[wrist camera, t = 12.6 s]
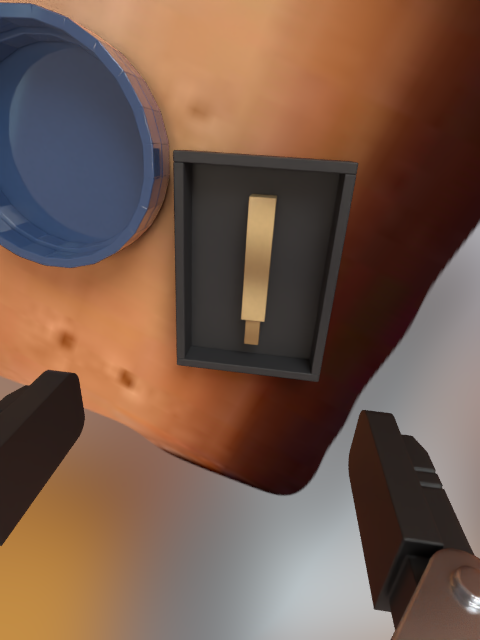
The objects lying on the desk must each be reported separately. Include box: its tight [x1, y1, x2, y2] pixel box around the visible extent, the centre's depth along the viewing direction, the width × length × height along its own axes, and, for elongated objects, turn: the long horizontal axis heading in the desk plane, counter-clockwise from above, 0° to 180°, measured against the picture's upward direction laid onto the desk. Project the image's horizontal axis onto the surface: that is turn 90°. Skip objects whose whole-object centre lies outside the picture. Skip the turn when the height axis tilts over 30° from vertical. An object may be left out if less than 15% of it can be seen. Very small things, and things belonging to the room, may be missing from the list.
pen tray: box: [173, 150, 358, 382], centre depth 24 cm, size 14×10×2 cm
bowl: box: [0, 2, 170, 268], centre depth 22 cm, size 13×13×4 cm
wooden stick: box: [241, 194, 277, 345], centre depth 24 cm, size 10×2×2 cm, turn 177°
